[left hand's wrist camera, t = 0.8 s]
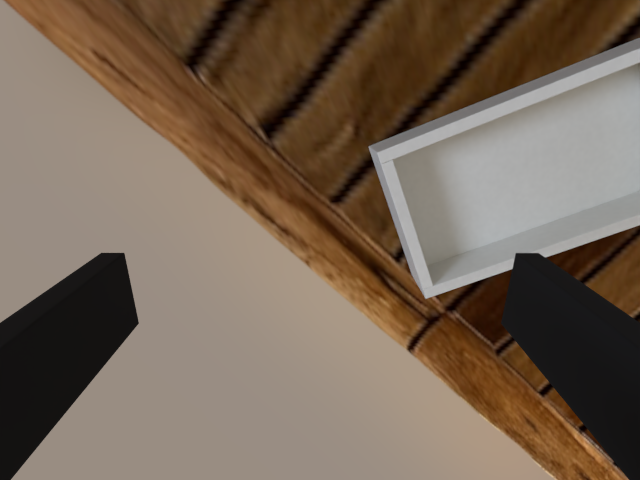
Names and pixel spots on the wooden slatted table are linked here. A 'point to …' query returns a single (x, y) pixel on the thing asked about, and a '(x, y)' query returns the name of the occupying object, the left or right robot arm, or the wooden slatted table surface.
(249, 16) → the wooden slatted table surface
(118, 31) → the wooden slatted table surface
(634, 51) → the tray
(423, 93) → the wooden slatted table surface
